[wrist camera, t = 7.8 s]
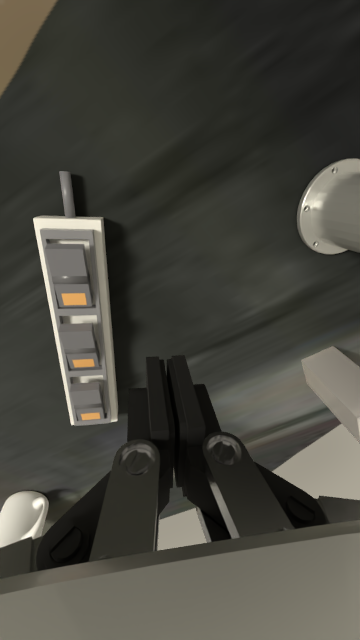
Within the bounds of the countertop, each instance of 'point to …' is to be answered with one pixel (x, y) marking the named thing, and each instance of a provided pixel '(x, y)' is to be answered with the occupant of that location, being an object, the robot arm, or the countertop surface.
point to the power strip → (99, 313)
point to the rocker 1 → (70, 274)
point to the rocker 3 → (88, 401)
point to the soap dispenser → (336, 385)
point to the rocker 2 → (80, 345)
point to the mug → (22, 517)
